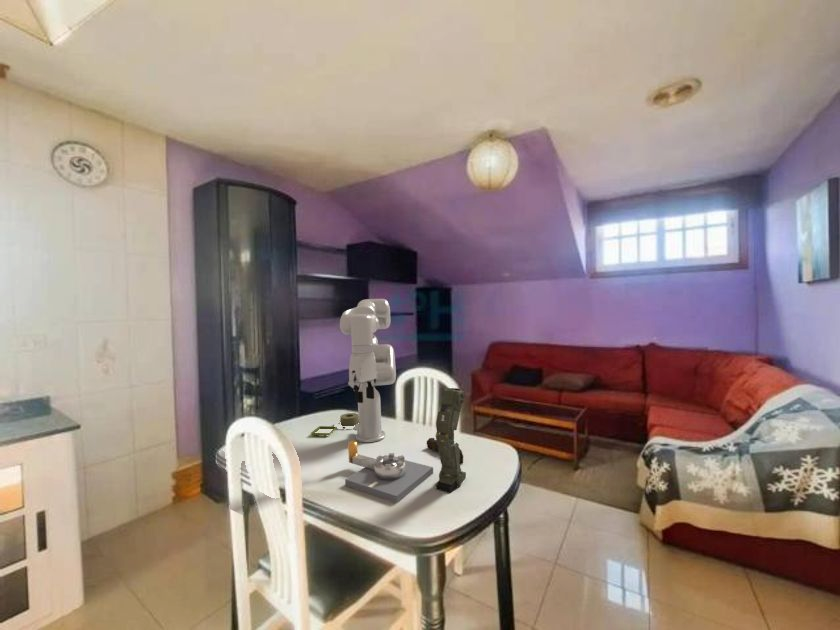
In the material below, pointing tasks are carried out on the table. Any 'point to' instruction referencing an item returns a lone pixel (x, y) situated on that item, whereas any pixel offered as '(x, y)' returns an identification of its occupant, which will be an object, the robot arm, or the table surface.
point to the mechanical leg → (449, 440)
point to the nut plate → (390, 481)
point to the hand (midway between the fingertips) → (364, 399)
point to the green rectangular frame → (323, 428)
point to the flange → (349, 419)
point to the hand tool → (433, 445)
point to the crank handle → (379, 463)
